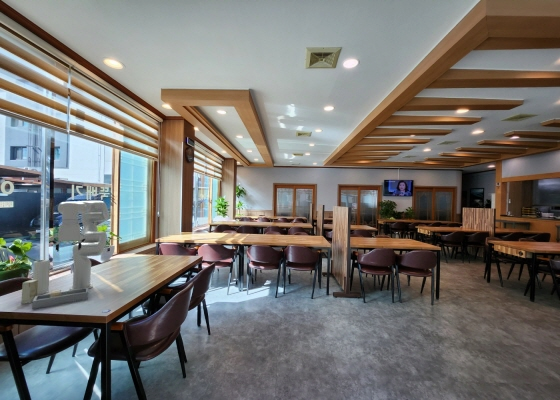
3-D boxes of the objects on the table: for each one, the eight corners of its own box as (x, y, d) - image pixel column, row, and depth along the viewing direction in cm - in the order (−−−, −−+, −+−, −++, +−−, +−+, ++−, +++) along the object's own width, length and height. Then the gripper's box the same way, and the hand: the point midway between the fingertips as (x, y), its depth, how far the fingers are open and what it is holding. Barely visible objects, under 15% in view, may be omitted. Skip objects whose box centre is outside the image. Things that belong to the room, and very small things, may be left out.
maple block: (50, 298, 143) (51, 291, 143) (60, 296, 146) (61, 289, 146) (49, 300, 139) (50, 293, 140) (60, 298, 142) (60, 291, 142)
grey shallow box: (35, 303, 141) (35, 295, 141) (87, 294, 156) (87, 287, 156) (32, 309, 133) (32, 301, 133) (87, 299, 148) (88, 291, 148)
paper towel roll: (30, 296, 152) (32, 262, 153) (33, 293, 157) (35, 260, 158) (46, 294, 156) (47, 260, 157) (48, 291, 161) (50, 259, 162)
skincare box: (30, 303, 141) (31, 282, 141) (20, 304, 140) (21, 282, 140) (37, 299, 147) (38, 279, 147) (28, 300, 146) (29, 279, 146)
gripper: (87, 221, 155) (86, 248, 154) (50, 222, 144) (49, 251, 143) (88, 222, 150) (87, 249, 149) (50, 222, 138) (48, 252, 137)
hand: (68, 250), depth 146 cm, fingers open, 9 cm apart
